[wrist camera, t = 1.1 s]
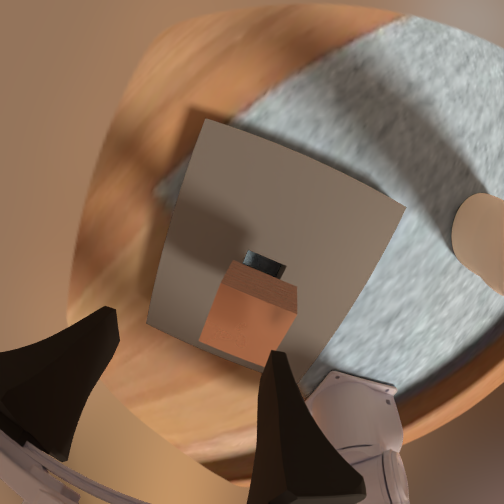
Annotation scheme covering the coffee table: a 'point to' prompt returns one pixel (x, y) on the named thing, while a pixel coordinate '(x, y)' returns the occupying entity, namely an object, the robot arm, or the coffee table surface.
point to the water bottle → (481, 238)
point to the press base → (269, 238)
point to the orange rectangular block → (250, 314)
